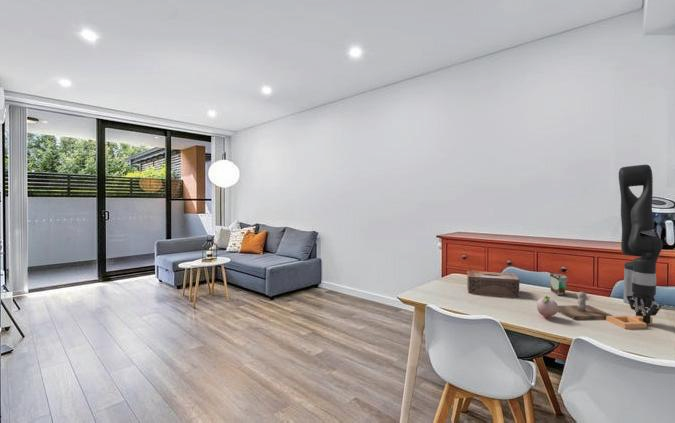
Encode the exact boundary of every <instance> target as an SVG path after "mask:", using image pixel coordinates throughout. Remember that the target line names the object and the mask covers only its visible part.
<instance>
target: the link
mask: <svg viewBox="0 0 675 423" xmlns="http://www.w3.org/2000/svg"><path fill="white" fill-rule="evenodd" d="M605 321H607V322H610V323H611V324H614V325H615V326H618V327H619V328H622V329H625V330H634V329H647V327H648V326H651V325H652V326H653V317H651V316H650V323H649V324H647V323H644V322H643V316H636V315H633V317H632V316H629V315H613V316H606V319H605Z"/></svg>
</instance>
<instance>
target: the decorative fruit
mask: <svg viewBox="0 0 675 423" xmlns="http://www.w3.org/2000/svg"><path fill="white" fill-rule="evenodd" d="M558 306H559V304H558V303H557V302H556V301H555V300H554V299H552V298H551V297H549V296H547V295H546V296H543V297H541V298H539V299H538V300H537V301H536V309H537V311H538V313H539V314H540V315H541V316H542V317H544V318H546V319H547V318H550V317H553V316H555V315H556V314H557V313H559V312H558Z"/></svg>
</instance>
